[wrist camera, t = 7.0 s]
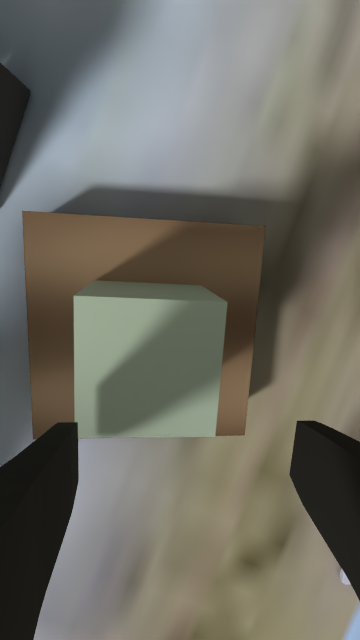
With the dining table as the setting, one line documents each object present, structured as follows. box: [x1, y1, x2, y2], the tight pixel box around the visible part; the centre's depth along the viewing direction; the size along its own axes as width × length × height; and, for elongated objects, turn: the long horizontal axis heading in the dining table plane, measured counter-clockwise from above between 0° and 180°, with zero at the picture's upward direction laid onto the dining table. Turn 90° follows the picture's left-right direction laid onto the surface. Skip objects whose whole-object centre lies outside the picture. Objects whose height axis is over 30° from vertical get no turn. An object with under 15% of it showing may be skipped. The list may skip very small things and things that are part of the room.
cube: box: [74, 280, 227, 438], centre depth 14 cm, size 5×5×5 cm
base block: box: [22, 211, 266, 439], centre depth 18 cm, size 11×11×3 cm
